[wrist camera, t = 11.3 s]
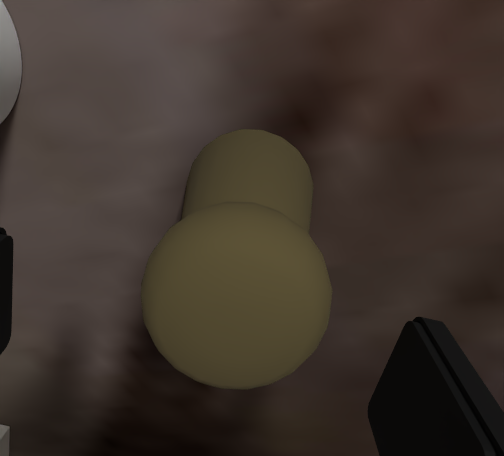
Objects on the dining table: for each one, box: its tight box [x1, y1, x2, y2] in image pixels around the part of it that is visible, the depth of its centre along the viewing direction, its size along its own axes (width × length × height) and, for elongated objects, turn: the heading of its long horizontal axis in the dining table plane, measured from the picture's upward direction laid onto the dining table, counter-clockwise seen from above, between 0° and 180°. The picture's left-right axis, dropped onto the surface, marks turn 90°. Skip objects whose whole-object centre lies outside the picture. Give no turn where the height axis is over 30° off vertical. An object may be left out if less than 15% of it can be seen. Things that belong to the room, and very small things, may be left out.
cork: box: [141, 129, 332, 390], centre depth 15 cm, size 6×6×11 cm
